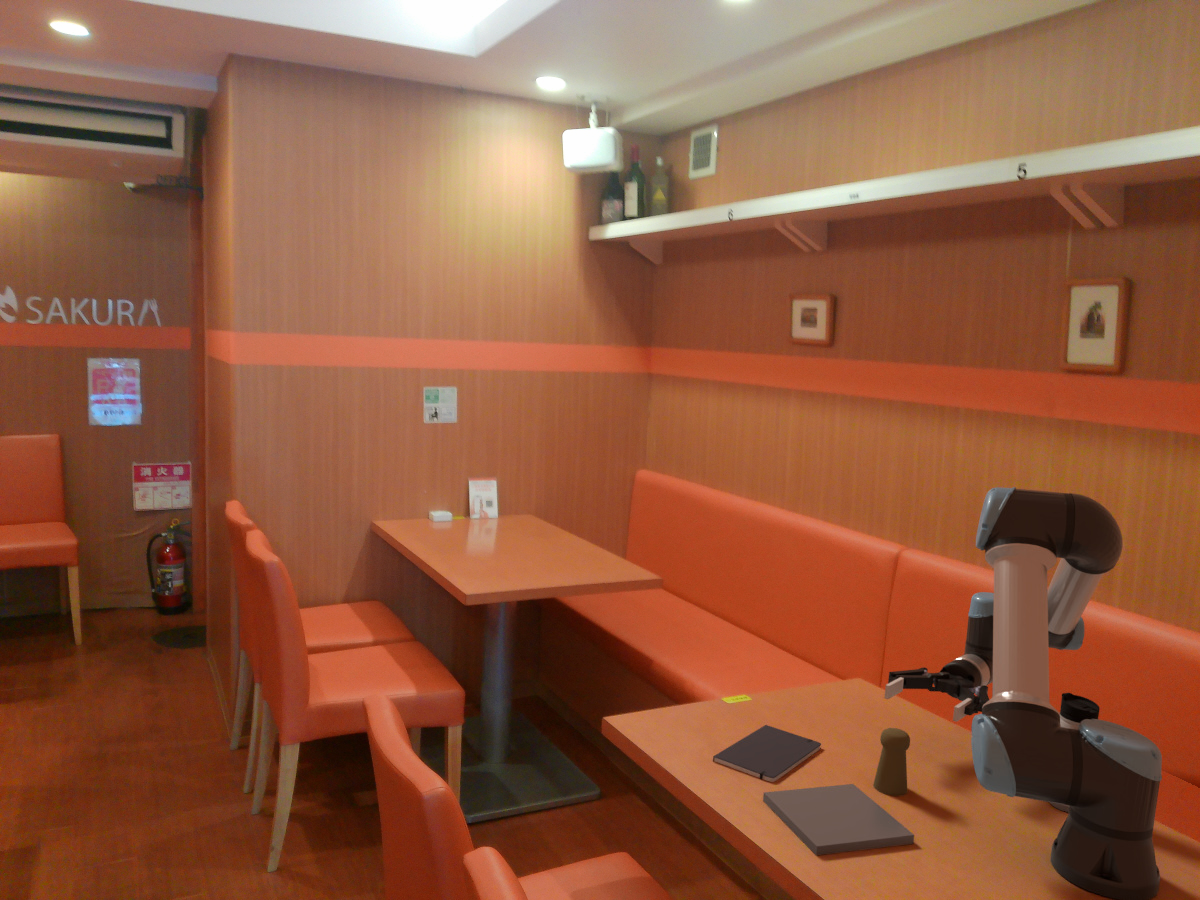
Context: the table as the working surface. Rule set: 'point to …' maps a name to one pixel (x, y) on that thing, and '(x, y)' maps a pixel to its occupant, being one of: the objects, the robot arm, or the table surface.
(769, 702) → the table surface
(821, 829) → the slate board
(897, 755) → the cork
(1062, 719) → the travel mug
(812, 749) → the notebook
